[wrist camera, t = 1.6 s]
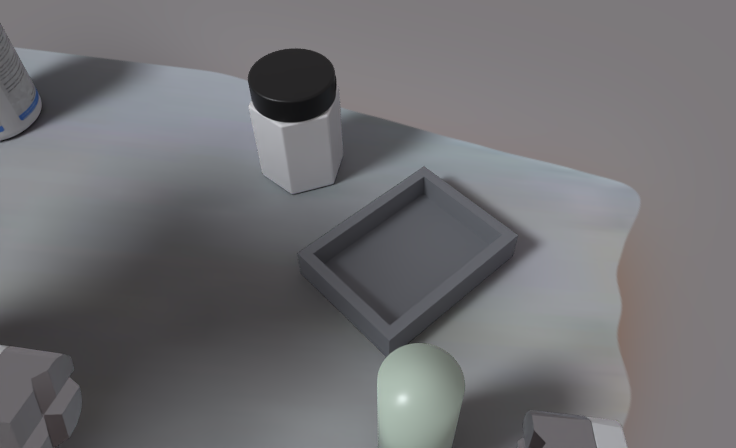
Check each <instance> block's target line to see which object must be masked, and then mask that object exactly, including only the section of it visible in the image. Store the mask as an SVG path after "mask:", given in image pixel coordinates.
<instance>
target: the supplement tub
mask: <svg viewBox="0 0 736 448" xmlns="http://www.w3.org/2000/svg"><path fill="white" fill-rule="evenodd" d="M41 108H42V101H41V98H40V95H39V93H38V92H37V89H36V88H35V86H34V84H33V82H32V80H31V78H30V77H29V75H28V73H27V71H26V69H25V67H24V65H23V64H22V62H21V60H20V58H19V56H18V54H17V53H16V51H15V49H14V47H13V45H12V43H11V42H10V40H9V38H8V36H7V34H6V33H5V30H4V29H3V27H2V25H1V23H0V141H1V140H4V139H8V138H10V137H13V136H15V135H17V134H19V133H21V132H22V131H24V130H25V129H27V128H28V127H29V126H30V125H31V124H32V123H33V122H34V121H35V120H36V119H37V117H38V116H39V114H40V111H41Z"/></svg>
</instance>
